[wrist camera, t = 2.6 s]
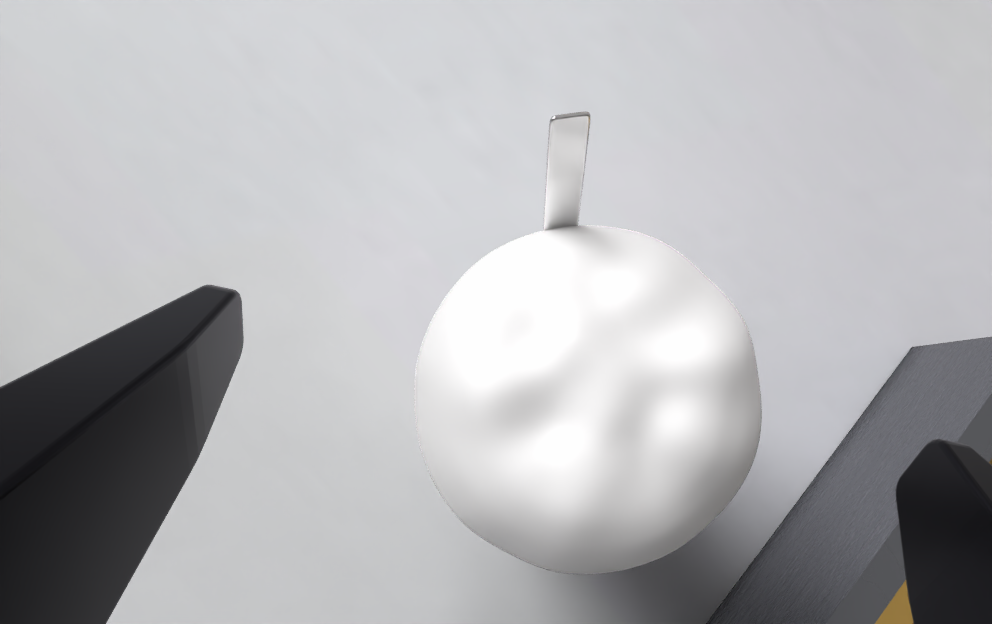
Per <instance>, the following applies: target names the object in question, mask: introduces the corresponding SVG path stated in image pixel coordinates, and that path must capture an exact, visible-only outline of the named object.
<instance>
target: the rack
mask: <svg viewBox="0 0 992 624" xmlns="http://www.w3.org/2000/svg"><path fill="white" fill-rule="evenodd" d="M933 439H944V440H949V441H954V442H958V443H963V444H966V445H968V446H970V447H971V448H973V449H974V450H975V451H976V452H977V453H979V454H980V455H981V456H982V457H983V458H984V459H985V460H987V461H988V462H989V463H990V464H991V465H992V337H986V338H978V339H971V340H963V341H955V342H948V343H940V344H933V345H925V346H917V347H912V348H911V349H910V351H909V352H908V353H907V355H906V356H905V357H904V359H903V360H902V361H901V363H900V364H899V365H898V367H897V368H896V369H895V371H894V372H893V373H892V375H891V376H890V377H889V379H888V380H887V382H886V383H885V384H884V386H883V387H882V388H881V390H880V391H879V392H878V394H877V395H876V396H875V398H874V399H873V400H872V402H871V403H870V404H869V406H868V407H867V408H866V410H865V411H864V412H863V414H862V415H861V417H860V418H859V419H858V421H857V422H856V423H855V425H854V426H853V427H852V429H851V430H850V431H849V433H848V434H847V435H846V437H845V438H844V439H843V441H842V442H841V443H840V445H839V446H838V447H837V449H836V450H835V452H834V453H833V454H832V456H831V457H830V458H829V460H828V461H827V462H826V464H825V465H824V466H823V468H822V469H821V470H820V472H819V473H818V474H817V476H816V477H815V478H814V480H813V481H812V482H811V484H810V485H809V487H808V488H807V489H806V491H805V492H804V493H803V495H802V496H801V497H800V499H799V500H798V501H797V503H796V504H795V505H794V507H793V508H792V509H791V511H790V512H789V513H788V515H787V516H786V517H785V519H784V520H783V522H782V523H781V524H780V526H779V527H778V528H777V530H776V531H775V532H774V534H773V535H772V536H771V538H770V539H769V540H768V542H767V543H766V544H765V546H764V547H763V548H762V550H761V551H760V553H759V554H758V555H757V557H756V558H755V559H754V561H753V562H752V563H751V565H750V566H749V567H748V569H747V570H746V571H745V573H744V574H743V575H742V577H741V578H740V579H739V581H738V582H737V583H736V585H735V586H734V588H733V589H732V590H731V592H730V593H729V594H728V596H727V597H726V598H725V600H724V601H723V602H722V604H721V605H720V606H719V608H718V609H717V610H716V612H715V613H714V614H713V616H712V617H711V618H710V620H709V621H708V623H707V624H914V623H913V618H912V613H911V608H910V603H909V597H908V591H907V584H906V576H905V568H904V560H903V552H902V544H901V536H900V528H899V520H898V512H897V504H896V486H897V482H898V480H899V478H900V476H901V475H902V473H903V472H904V471H905V470H906V468H907V467H908V466H909V465H910V463H911V462H912V461H913V460H914V458H915V457H916V456H917V455H918V453H919V452H920V451H921V450H922V448H923V447H924V446H925V445H926V444H927V443H928V442H929V441H931V440H933Z"/></svg>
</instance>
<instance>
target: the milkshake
mask: <svg viewBox="0 0 992 624" xmlns="http://www.w3.org/2000/svg"><path fill="white" fill-rule="evenodd" d="M589 128H590V113H589V112H576V113H569V114H561V115H555V116H553V117H552V118H551V119H550V124H549V135H548V153H547V171H546V189H545V207H544V225H543V231H539V232H536V233H532V234H529V235H526V236H523V237H521V238H518V239H516V240H513V241H511V242H509V243H507V244H504V245H503V246H501V247H499V248H497V249H495V250H493V251H492V252H490V253H489V254H487V255H486V256H484V257H483V258H482V259H480V260H479V261H478V262H477V263H475V264H474V265H473V266H472V267H471V268H470V269H469V270H468V271H467V272H466V273H465V274H464V275H463V276H462V277H461V278H460V279H459V280H458V281H457V283H456V284H455V285H454V286H453V287H452V289H451V290H450V291H449V293H448V294H447V295H446V297H445V298H444V300H443V301H442V303H441V304H440V306H439V308H438V309H437V311H436V313H435V315H434V317H433V319H432V320H431V323H430V325H429V327H428V329H427V331H426V334H425V336H424V339H423V342H422V345H421V348H420V351H419V355H418V360H417V365H416V372H415V385H414V403H415V419H416V428H417V434H418V440H419V444H420V448H421V452H422V455H423V458H424V461H425V464H426V466H427V469H428V471H429V473H430V476H431V478H432V480H433V482H434V484H435V486H436V488H437V489H438V491H439V493H440V494H441V496H442V498H443V499H444V501H445V502H446V504H447V505H448V506H449V508H450V509H451V510H452V512H453V513H454V514H455V515H456V516H457V518H458V519H459V520H460V521H461V522H462V523H463V524H464V525H466V526H467V527H468V528H469V529H470V530H471V531H473V532H474V533H475V534H477V535H478V536H480V537H481V538H483V539H484V540H486V541H487V542H489V543H491V544H492V545H494V546H496V547H498V548H500V549H501V550H503V551H505V552H507V553H509V554H511V555H513V556H515V557H517V558H519V559H521V560H524V561H526V562H528V563H530V564H533V565H535V566H538V567H541V568H544V569H547V570H551V571H555V572H559V573H566V574H601V573H609V572H616V571H621V570H626V569H630V568H634V567H637V566H640V565H644V564H646V563H649V562H652V561H654V560H657V559H659V558H661V557H664V556H666V555H668V554H669V553H671V552H673V551H675V550H677V549H678V548H680V547H681V546H683V545H684V544H686V543H687V542H689V541H690V540H691V539H693V538H694V537H695V536H696V535H698V534H699V533H700V532H701V531H702V530H703V529H704V528H705V527H706V526H707V525H709V524H710V523H711V522H712V521H713V520H714V519H715V517H716V516H717V515H718V514H719V513H720V512H721V511H722V510H723V509H724V508H725V507H726V506H727V505H728V503H729V502H730V501H731V500H732V498H733V497H734V496H735V494H736V493H737V492H738V490H739V489H740V487H741V485H742V484H743V482H744V480H745V479H746V477H747V475H748V473H749V471H750V468H751V466H752V463H753V461H754V458H755V455H756V451H757V447H758V443H759V438H760V431H761V418H762V410H761V394H760V386H759V378H758V371H757V365H756V359H755V353H754V348H753V344H752V340H751V337H750V334H749V331H748V328H747V326H746V324H745V322H744V320H743V318H742V316H741V315H740V313H739V312H738V310H737V309H736V308H735V306H734V305H733V304H732V302H731V301H730V300H729V299H728V298H727V296H726V295H725V294H724V293H723V292H722V291H721V290H720V289H719V288H718V287H717V286H716V285H715V284H714V283H713V282H712V281H711V280H710V279H709V278H708V277H707V276H706V275H704V274H703V273H702V272H701V271H700V270H699V269H698V268H697V267H696V266H695V265H694V264H693V263H692V262H691V261H690V260H688V259H687V258H686V257H685V256H684V255H682V254H681V253H680V252H678V251H677V250H675V249H674V248H672V247H671V246H669V245H668V244H666V243H664V242H662V241H660V240H658V239H656V238H654V237H651V236H649V235H646V234H643V233H640V232H636V231H632V230H628V229H623V228H616V227H608V226H593V225H579V226H578V221H579V213H580V204H581V196H582V188H583V179H584V171H585V162H586V154H587V146H588V137H589Z"/></svg>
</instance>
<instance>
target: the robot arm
mask: <svg viewBox="0 0 992 624" xmlns="http://www.w3.org/2000/svg"><path fill="white" fill-rule="evenodd" d="M242 348H243V319H242V301H241V297H240V294H239V293H238V292H237V291H236V290H233V289H228V288H223V287H219V286H214V285H205V286H202V287H200V288H198V289H196V290H194V291H192V292H190V293H188V294H186V295H184V296H182V297H180V298H178V299H176V300H174V301H172V302H170V303H168V304H166V305H164V306H162V307H160V308H158V309H156V310H154V311H152V312H150V313H148V314H146V315H144V316H142V317H140V318H138V319H136V320H134V321H132V322H130V323H128V324H126V325H124V326H122V327H120V328H118V329H116V330H114V331H112V332H110V333H108V334H106V335H104V336H102V337H100V338H98V339H96V340H94V341H92V342H90V343H88V344H86V345H84V346H82V347H80V348H78V349H76V350H74V351H72V352H70V353H68V354H66V355H64V356H62V357H60V358H58V359H56V360H54V361H52V362H50V363H48V364H46V365H44V366H42V367H40V368H38V369H36V370H34V371H32V372H30V373H28V374H26V375H24V376H22V377H20V378H18V379H16V380H14V381H12V382H10V383H8V384H6V385H4V386H2V387H0V624H106V623H107V621H108V619H109V617H110V615H111V614H112V612H113V610H114V608H115V607H116V605H117V603H118V601H119V599H120V598H121V596H122V594H123V592H124V590H125V589H126V587H127V585H128V583H129V582H130V580H131V578H132V576H133V574H134V573H135V571H136V569H137V567H138V565H139V564H140V562H141V560H142V558H143V557H144V555H145V553H146V551H147V549H148V548H149V546H150V544H151V542H152V540H153V539H154V537H155V535H156V533H157V532H158V530H159V528H160V526H161V524H162V523H163V521H164V519H165V517H166V516H167V514H168V512H169V510H170V508H171V507H172V505H173V503H174V501H175V499H176V498H177V496H178V494H179V492H180V491H181V489H182V487H183V485H184V483H185V482H186V480H187V478H188V476H189V474H190V473H191V471H192V469H193V467H194V465H195V463H196V461H197V459H198V457H199V455H200V453H201V451H202V448H203V446H204V444H205V442H206V439H207V437H208V434H209V432H210V429H211V427H212V425H213V422H214V420H215V417H216V415H217V412H218V410H219V408H220V405H221V403H222V400H223V398H224V395H225V393H226V391H227V388H228V386H229V383H230V381H231V378H232V376H233V373H234V371H235V369H236V366H237V364H238V361H239V359H240V356H241V353H242ZM896 504H897V512H898V520H899V528H900V536H901V544H902V552H903V560H904V568H905V576H906V584H907V591H908V597H909V603H910V608H911V613H912V618H913V623H914V624H992V465H991V464H990V463H989V462H988V461H987V460H985V459H984V458H983V457H982V456H981V455H980V454H979V453H977V452H976V451H975V450H974V449H973V448H971V447H970V446H968V445H966V444H963V443H958V442H954V441H949V440H944V439H933V440H931V441H929V442H928V443H927V444H926V445H925V446H924V447H923V448H922V450H921V451H920V452H919V453H918V455H917V456H916V457H915V458H914V460H913V461H912V462H911V463H910V465H909V466H908V467H907V468H906V470H905V471H904V472H903V473H902V475H901V476H900V478H899V480H898V482H897V486H896Z"/></svg>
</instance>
